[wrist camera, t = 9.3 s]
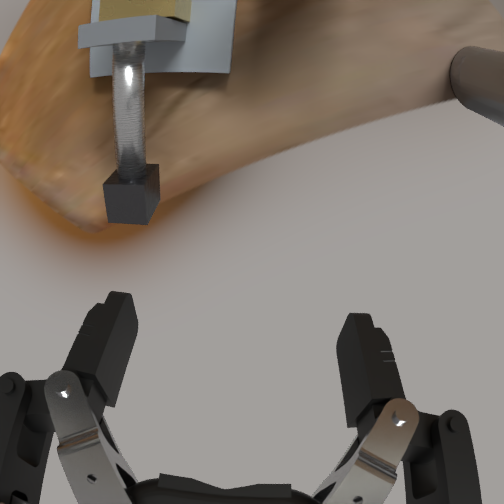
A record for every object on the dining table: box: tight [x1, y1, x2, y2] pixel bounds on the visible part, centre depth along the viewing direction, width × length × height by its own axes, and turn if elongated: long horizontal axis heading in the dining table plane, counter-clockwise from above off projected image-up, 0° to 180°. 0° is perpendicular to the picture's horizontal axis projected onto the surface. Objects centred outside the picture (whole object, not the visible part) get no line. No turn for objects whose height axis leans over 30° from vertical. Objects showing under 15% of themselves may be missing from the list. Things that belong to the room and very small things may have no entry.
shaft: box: [103, 41, 160, 225], centre depth 25 cm, size 4×17×5 cm, turn 175°
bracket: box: [78, 0, 237, 77], centre depth 21 cm, size 16×14×13 cm
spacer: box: [99, 0, 192, 22], centre depth 22 cm, size 7×2×7 cm, turn 85°
